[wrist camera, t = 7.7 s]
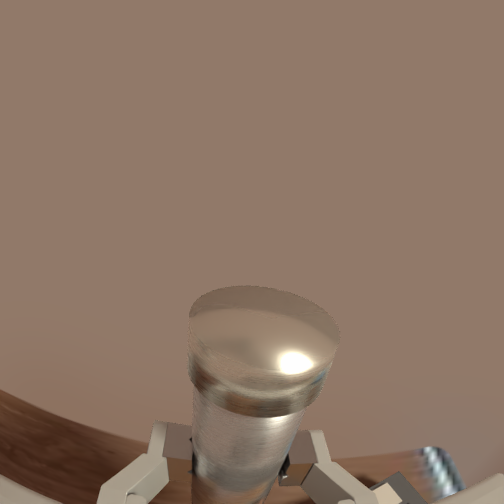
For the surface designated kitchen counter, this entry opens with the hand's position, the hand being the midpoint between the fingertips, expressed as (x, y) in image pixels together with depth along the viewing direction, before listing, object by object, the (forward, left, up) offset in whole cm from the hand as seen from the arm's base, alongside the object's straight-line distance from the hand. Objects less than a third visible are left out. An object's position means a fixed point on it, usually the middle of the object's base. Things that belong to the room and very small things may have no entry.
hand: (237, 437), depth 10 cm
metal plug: (0, -1, -8) cm, 8 cm away
